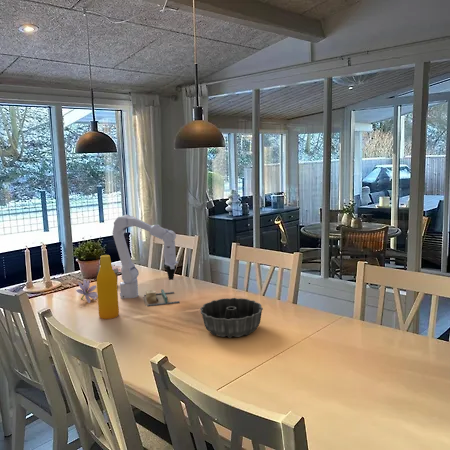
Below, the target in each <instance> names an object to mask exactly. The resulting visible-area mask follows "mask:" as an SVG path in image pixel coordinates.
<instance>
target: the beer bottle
mask: <svg viewBox="0 0 450 450" xmlns="http://www.w3.org/2000/svg"><path fill="white" fill-rule="evenodd" d="M99 269H100V270H99ZM99 269H98V273H97V276H96V289H97V291H96V293H97V295H98V297H97V304H98V305H97V306H98V307H97V308H98V317H99V318H100V319H102V320H103V319H104V320H110V319H111V320H112V319H115V318H117V317H118V316H119V314H120V308H119V307H120V306H119V296H118V295H119V293H118V279H117V277H116V274H115V272H114V271H113V270H114V268H113V266H112V260H111V256H110V255H109V254H103V255H100V262H99Z"/></svg>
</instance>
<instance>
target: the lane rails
mask: <svg viewBox="0 0 450 450" xmlns="http://www.w3.org/2000/svg"><path fill="white" fill-rule="evenodd" d="M165 294H166V295H171V294H175V292H174V291H168V292H165ZM156 295H162V293H161V292H159V293H156ZM145 296H146V294H143V297H145ZM173 304H180V300H176V301H167V302H166V303H157V304H148V305H147V307H154V306H155V307H156V306H164V305H173Z"/></svg>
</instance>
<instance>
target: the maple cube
mask: <svg viewBox="0 0 450 450" xmlns="http://www.w3.org/2000/svg"><path fill="white" fill-rule="evenodd" d="M145 295H146V300H147V302H153V301H156V290H146V291H145Z"/></svg>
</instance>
